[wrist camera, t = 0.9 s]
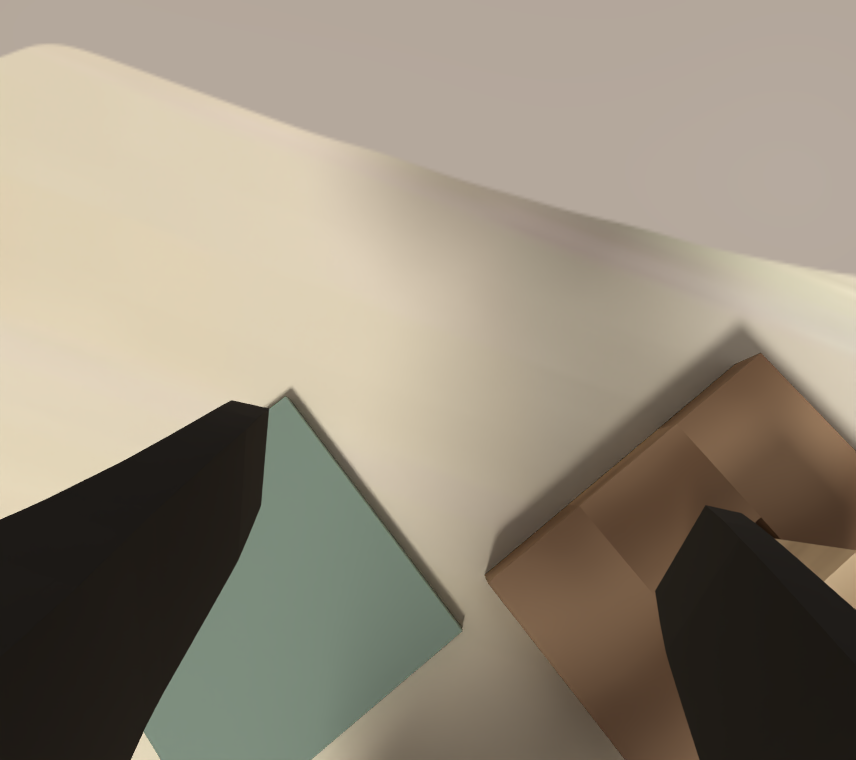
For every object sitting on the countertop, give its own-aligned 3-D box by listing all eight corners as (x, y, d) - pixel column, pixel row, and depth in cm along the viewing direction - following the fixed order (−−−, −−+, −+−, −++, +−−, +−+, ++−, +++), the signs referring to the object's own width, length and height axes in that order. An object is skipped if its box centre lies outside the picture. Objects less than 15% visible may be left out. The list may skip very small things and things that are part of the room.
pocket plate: (995, 638, 21) (1051, 653, 20) (731, 892, 20) (761, 935, 18) (735, 363, 24) (760, 352, 22) (484, 574, 23) (487, 583, 21)
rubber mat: (462, 628, 22) (462, 631, 22) (217, 835, 21) (212, 843, 21) (288, 398, 24) (285, 396, 24) (58, 575, 23) (49, 577, 23)
